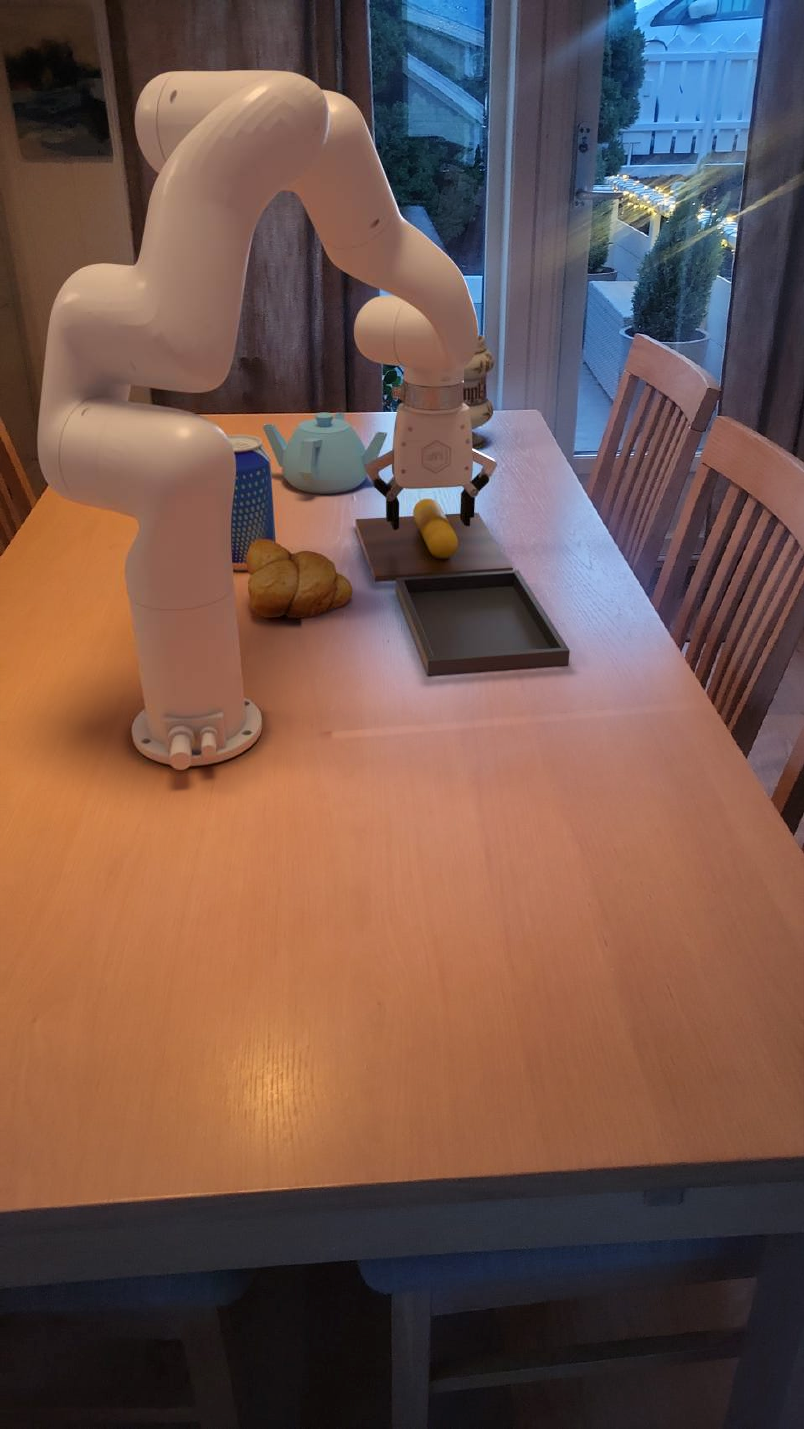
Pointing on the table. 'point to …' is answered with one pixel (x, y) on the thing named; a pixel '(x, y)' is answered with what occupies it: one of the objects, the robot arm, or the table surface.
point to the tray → (479, 623)
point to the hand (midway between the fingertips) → (429, 524)
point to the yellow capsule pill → (435, 528)
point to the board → (411, 556)
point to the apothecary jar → (478, 390)
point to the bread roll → (293, 581)
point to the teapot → (324, 454)
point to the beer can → (250, 497)
